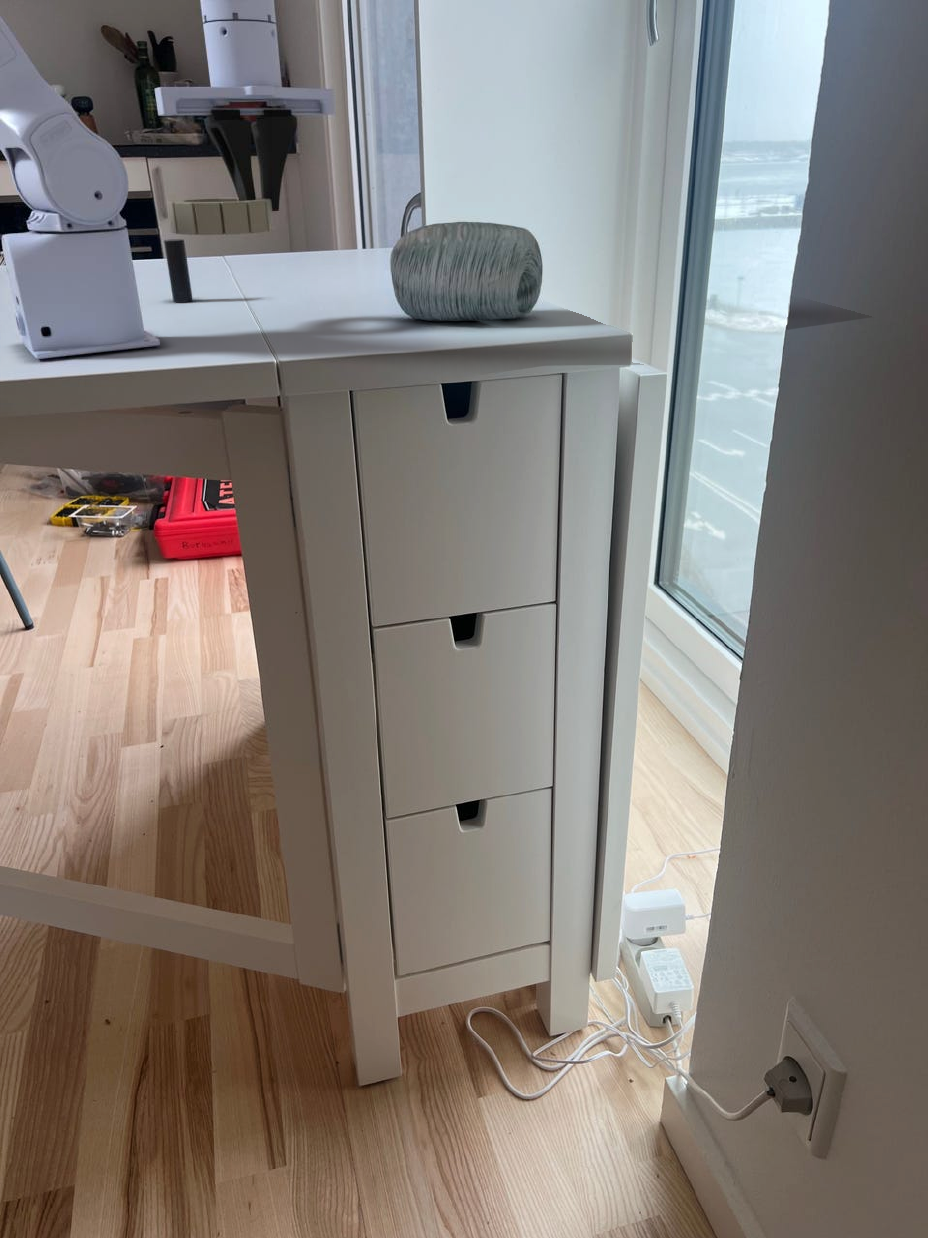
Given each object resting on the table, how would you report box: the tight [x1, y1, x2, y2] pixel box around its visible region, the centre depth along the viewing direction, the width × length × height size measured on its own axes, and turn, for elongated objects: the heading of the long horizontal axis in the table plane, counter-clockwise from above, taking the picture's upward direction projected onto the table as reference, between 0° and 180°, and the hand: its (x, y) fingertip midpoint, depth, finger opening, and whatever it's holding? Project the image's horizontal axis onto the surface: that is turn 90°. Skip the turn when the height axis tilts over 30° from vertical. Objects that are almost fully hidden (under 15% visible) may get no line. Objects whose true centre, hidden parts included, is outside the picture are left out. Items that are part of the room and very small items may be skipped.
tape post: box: [163, 238, 194, 303], centre depth 96 cm, size 2×2×6 cm
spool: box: [389, 221, 544, 322], centre depth 82 cm, size 14×10×10 cm
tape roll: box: [166, 197, 275, 236], centre depth 78 cm, size 8×8×2 cm
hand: (260, 211), depth 79 cm, fingers closed on tape roll, 1 cm apart
